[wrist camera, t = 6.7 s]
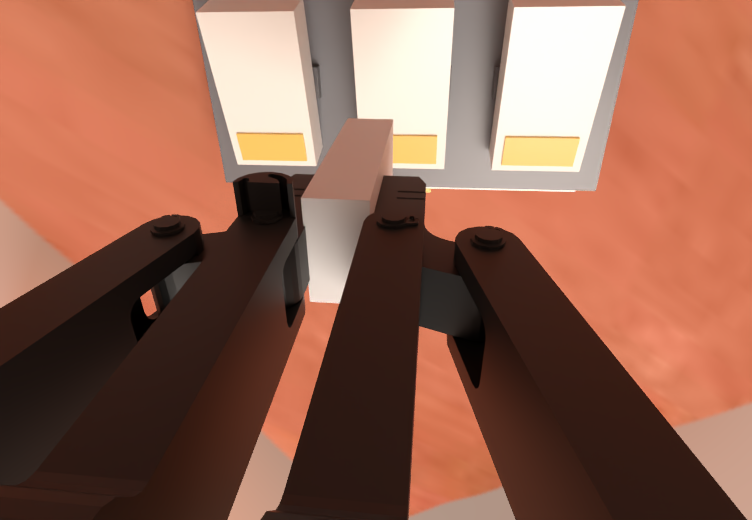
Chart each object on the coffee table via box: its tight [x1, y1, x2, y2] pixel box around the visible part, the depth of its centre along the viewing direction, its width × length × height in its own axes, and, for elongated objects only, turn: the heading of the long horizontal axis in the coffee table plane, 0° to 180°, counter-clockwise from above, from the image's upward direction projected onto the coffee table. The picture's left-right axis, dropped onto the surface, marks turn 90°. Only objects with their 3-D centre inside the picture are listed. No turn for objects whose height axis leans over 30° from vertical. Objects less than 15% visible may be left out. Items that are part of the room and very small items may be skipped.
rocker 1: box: [196, 0, 323, 166], centre depth 25 cm, size 8×4×2 cm, turn 0°
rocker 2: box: [350, 0, 454, 169], centre depth 25 cm, size 8×4×2 cm, turn 0°
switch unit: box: [193, 0, 639, 192], centre depth 28 cm, size 13×22×6 cm, turn 91°
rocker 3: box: [489, 0, 626, 172], centre depth 24 cm, size 8×4×2 cm, turn 0°
